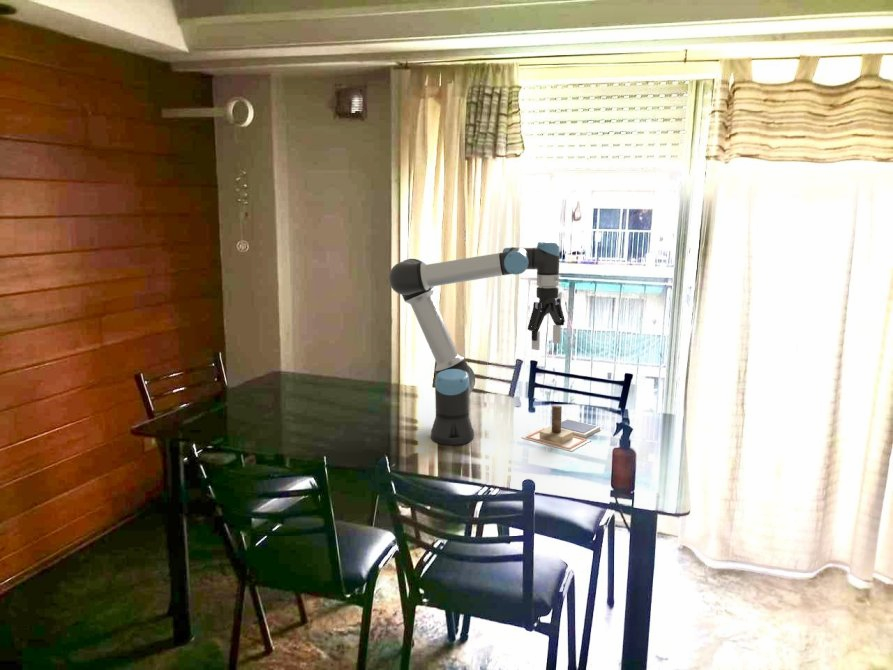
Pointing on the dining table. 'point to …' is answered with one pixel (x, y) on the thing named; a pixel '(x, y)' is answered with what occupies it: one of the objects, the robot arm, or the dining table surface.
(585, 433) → the ink pad
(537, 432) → the marked sheet
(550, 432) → the stamp
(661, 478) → the dining table surface
